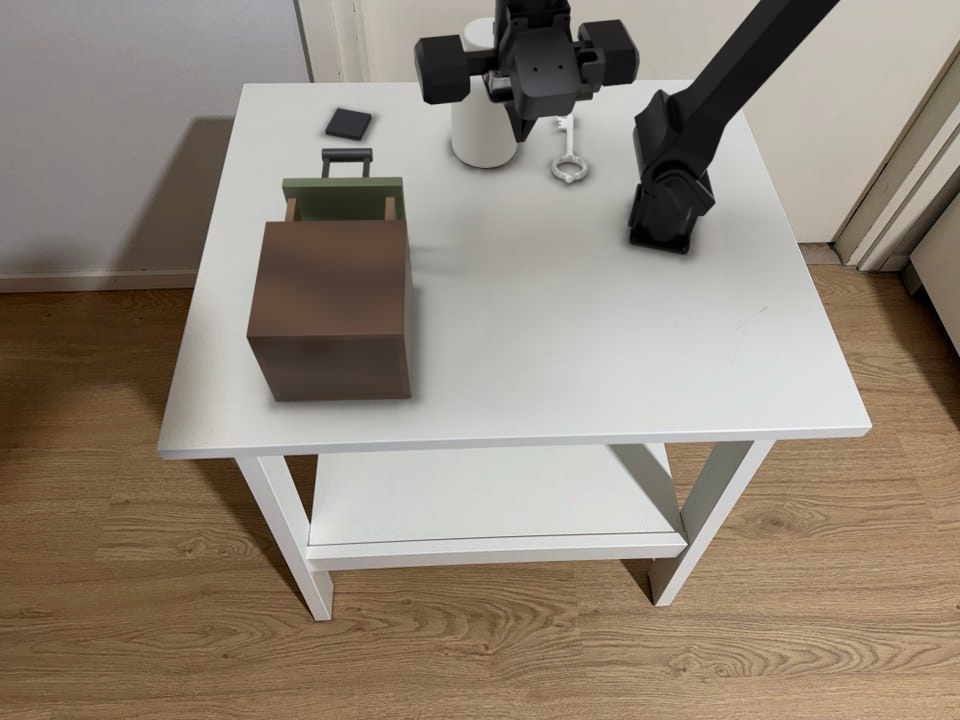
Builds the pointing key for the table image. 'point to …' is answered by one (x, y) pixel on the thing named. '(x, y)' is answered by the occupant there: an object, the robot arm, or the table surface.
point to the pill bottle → (481, 113)
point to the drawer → (344, 192)
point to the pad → (348, 124)
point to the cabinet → (334, 310)
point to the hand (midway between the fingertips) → (519, 139)
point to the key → (568, 152)
